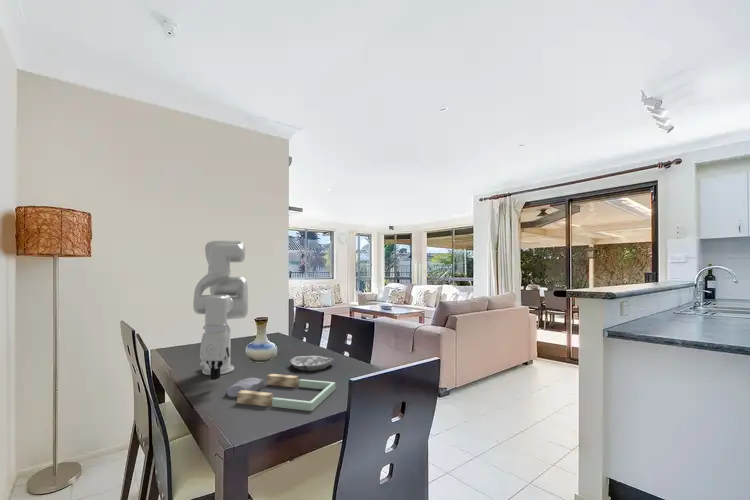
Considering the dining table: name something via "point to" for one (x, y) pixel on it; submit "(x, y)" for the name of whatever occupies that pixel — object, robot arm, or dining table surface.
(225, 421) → the dining table surface
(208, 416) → the dining table surface
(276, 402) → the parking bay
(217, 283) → the robot arm
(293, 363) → the brain slice
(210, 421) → the dining table surface
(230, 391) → the stone block
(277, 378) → the blocks
